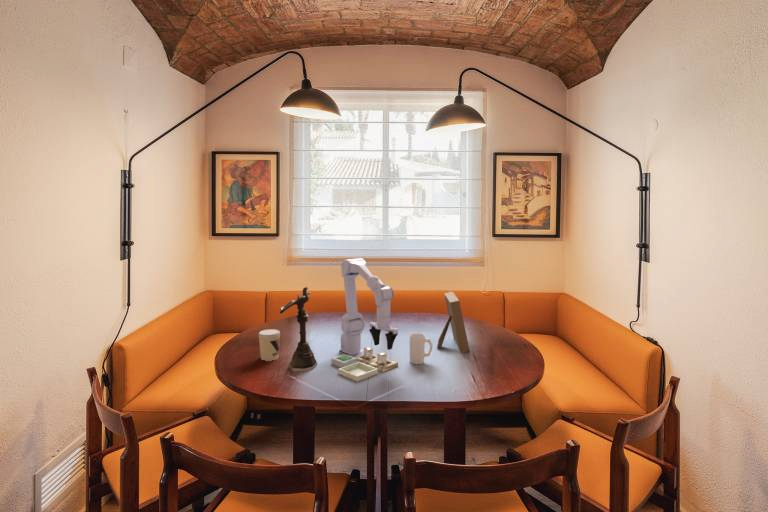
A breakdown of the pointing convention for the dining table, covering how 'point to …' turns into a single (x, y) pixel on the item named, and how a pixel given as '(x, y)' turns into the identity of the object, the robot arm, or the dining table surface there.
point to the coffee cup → (269, 344)
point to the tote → (358, 371)
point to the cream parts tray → (374, 363)
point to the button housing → (343, 363)
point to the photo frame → (455, 323)
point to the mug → (418, 348)
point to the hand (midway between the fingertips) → (383, 346)
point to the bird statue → (301, 337)
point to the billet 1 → (368, 353)
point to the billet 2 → (382, 358)
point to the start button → (344, 358)
